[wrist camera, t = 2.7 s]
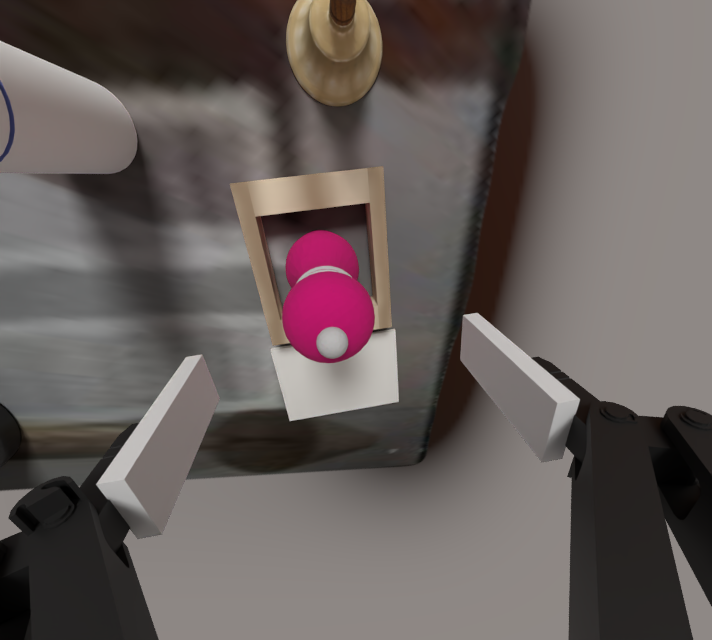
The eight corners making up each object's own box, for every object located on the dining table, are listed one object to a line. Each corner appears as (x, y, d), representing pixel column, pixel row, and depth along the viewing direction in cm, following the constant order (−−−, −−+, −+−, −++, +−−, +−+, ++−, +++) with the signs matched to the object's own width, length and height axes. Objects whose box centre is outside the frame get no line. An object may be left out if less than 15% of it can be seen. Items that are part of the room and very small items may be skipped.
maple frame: (275, 333, 37) (272, 345, 34) (237, 183, 29) (229, 183, 27) (386, 316, 38) (391, 327, 35) (376, 167, 30) (383, 166, 28)
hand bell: (341, 128, 28) (371, 80, 14) (266, 51, 25) (210, -109, 11) (400, 46, 26) (505, -105, 12) (327, -49, 23) (355, -400, 9)
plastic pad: (290, 418, 43) (289, 421, 43) (271, 348, 38) (270, 350, 37) (397, 399, 44) (398, 401, 44) (394, 328, 39) (395, 330, 38)
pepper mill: (363, 271, 35) (418, 370, 17) (308, 298, 35) (307, 422, 18) (334, 212, 32) (366, 260, 14) (275, 244, 32) (232, 328, 14)
